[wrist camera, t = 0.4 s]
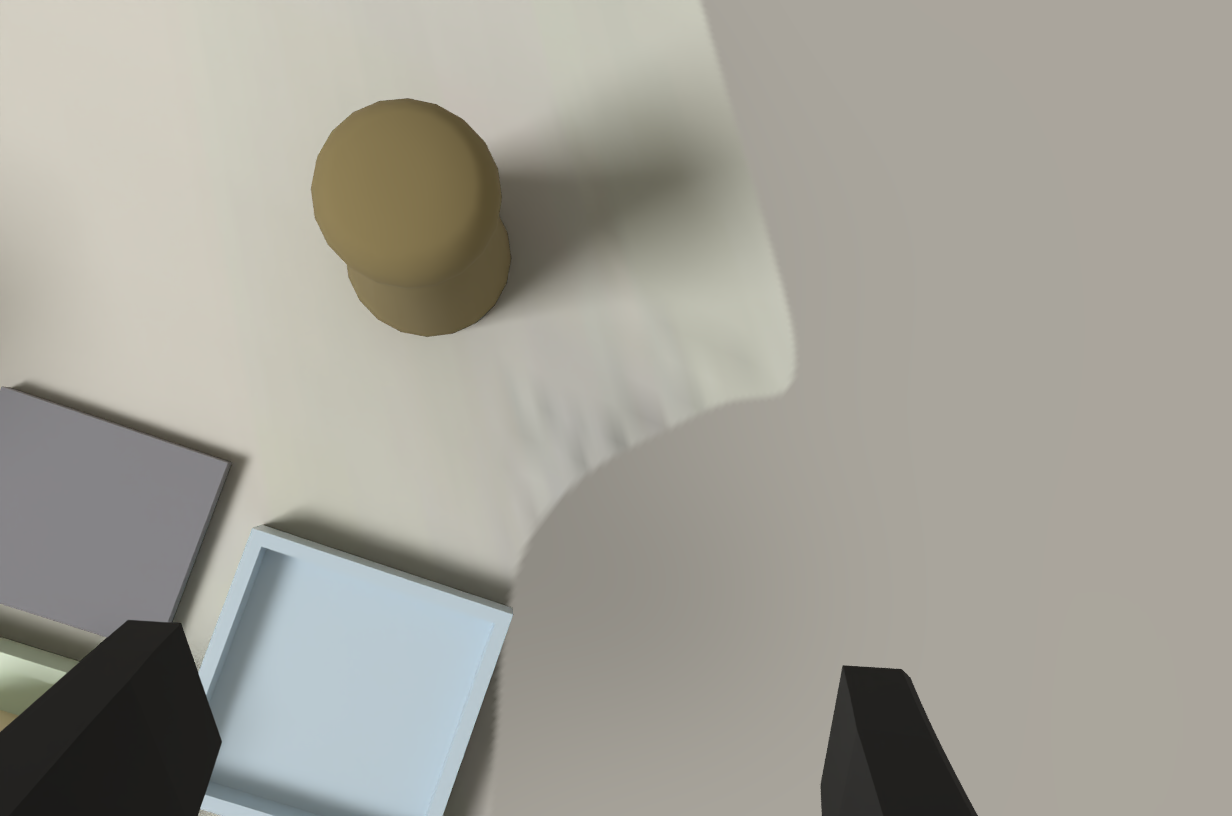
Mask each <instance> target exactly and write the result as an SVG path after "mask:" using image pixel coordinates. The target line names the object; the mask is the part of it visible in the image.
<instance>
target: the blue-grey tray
mask: <svg viewBox="0 0 1232 816" xmlns="http://www.w3.org/2000/svg"><path fill="white" fill-rule="evenodd" d="M512 617H513V609H512V608H511V607H508V606H505V605H502V604H499V603H496V602H493V601H490V600H487V599H484V598H481V597H478V596H475V595H472V594H469V593H466V592H463V591H460V590H457V589H454V588H451V587H448V586H445V585H442V584H439V583H436V582H433V581H430V580H427V579H424V578H421V577H418V576H415V575H412V574H409V573H406V572H403V571H400V570H397V569H394V568H391V567H388V566H385V565H382V564H379V563H376V562H373V561H370V560H367V559H364V558H361V557H358V556H355V555H352V554H349V553H346V552H343V551H340V550H337V549H334V548H331V547H328V546H325V545H322V544H319V543H316V542H313V541H310V540H307V539H304V538H301V537H298V536H295V535H292V534H289V533H286V532H283V531H280V530H277V529H274V528H271V527H268V526H265V525H260V526H257V527H254V528H252V530H251V533H250V536H249V538H248V541H247V544H246V546H245V549H244V552H243V555H242V557H241V560H240V563H239V565H238V568H237V571H236V573H235V576H234V579H233V581H232V584H231V587H230V589H229V592H228V595H227V597H226V600H225V603H224V605H223V608H222V611H221V614H220V616H219V619H218V622H217V624H216V627H215V630H214V632H213V635H212V638H211V640H210V643H209V646H208V648H207V651H206V654H205V656H204V659H203V662H202V665H201V667H200V670H199V673H198V674H199V677H200V679H201V682H202V685H203V688H204V691H205V694H206V697H207V700H208V702H209V705H210V708H211V711H212V714H213V717H214V720H215V723H216V725H217V728H218V731H219V734H220V737H221V740H222V744H221V747H220V750H219V753H218V756H217V759H216V763H215V766H214V769H213V772H212V775H211V778H210V781H209V784H208V787H207V791H206V793H205V796H204V799H203V802H202V805H201V807H200V809H202V810H205V811H208V812H211V813H215V814H218V815H221V816H443V813H444V810H445V807H446V804H447V802H448V799H449V796H450V793H451V790H452V787H453V784H454V782H455V779H456V776H457V773H458V770H459V767H460V765H461V762H462V759H463V756H464V753H465V750H466V747H467V745H468V742H469V739H470V736H471V733H472V730H473V728H474V725H475V722H476V719H477V716H478V713H479V710H480V708H481V705H482V702H483V699H484V696H485V693H486V691H487V688H488V685H489V682H490V679H491V676H492V673H493V671H494V668H495V665H496V662H497V659H498V656H499V654H500V651H501V648H502V645H503V642H504V639H505V637H506V634H507V631H508V628H509V625H510V622H511V619H512Z"/></svg>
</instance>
